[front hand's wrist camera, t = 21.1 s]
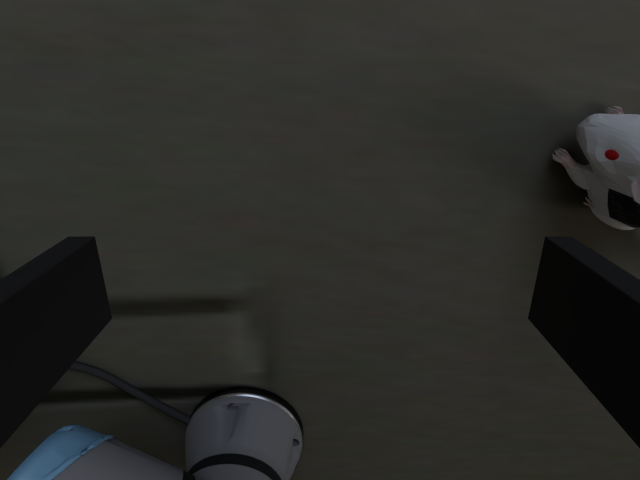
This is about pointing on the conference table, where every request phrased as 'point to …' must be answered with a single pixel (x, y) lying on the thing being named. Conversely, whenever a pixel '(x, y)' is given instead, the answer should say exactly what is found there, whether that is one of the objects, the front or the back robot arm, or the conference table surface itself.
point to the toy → (609, 166)
